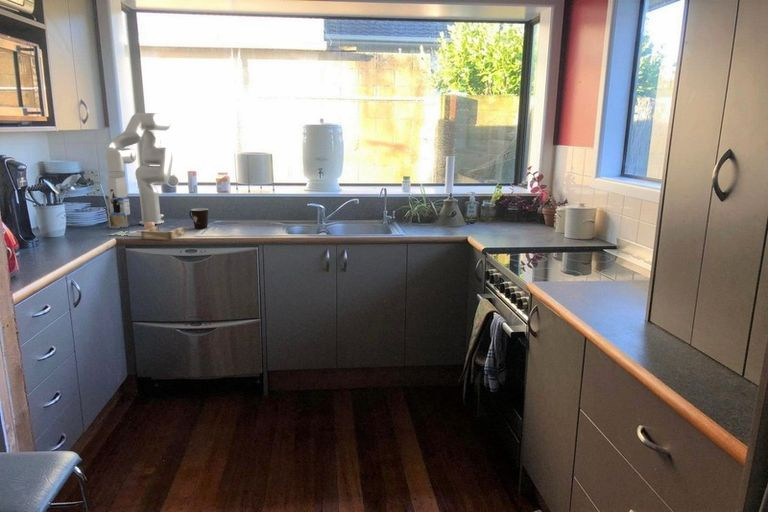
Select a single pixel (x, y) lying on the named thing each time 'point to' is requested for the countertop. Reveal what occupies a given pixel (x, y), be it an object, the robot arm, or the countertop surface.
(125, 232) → the board
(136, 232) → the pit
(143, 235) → the cubby
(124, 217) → the coffee box
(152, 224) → the peach rounded capsule
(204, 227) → the coffee mug
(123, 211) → the medicine box
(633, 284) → the countertop surface
